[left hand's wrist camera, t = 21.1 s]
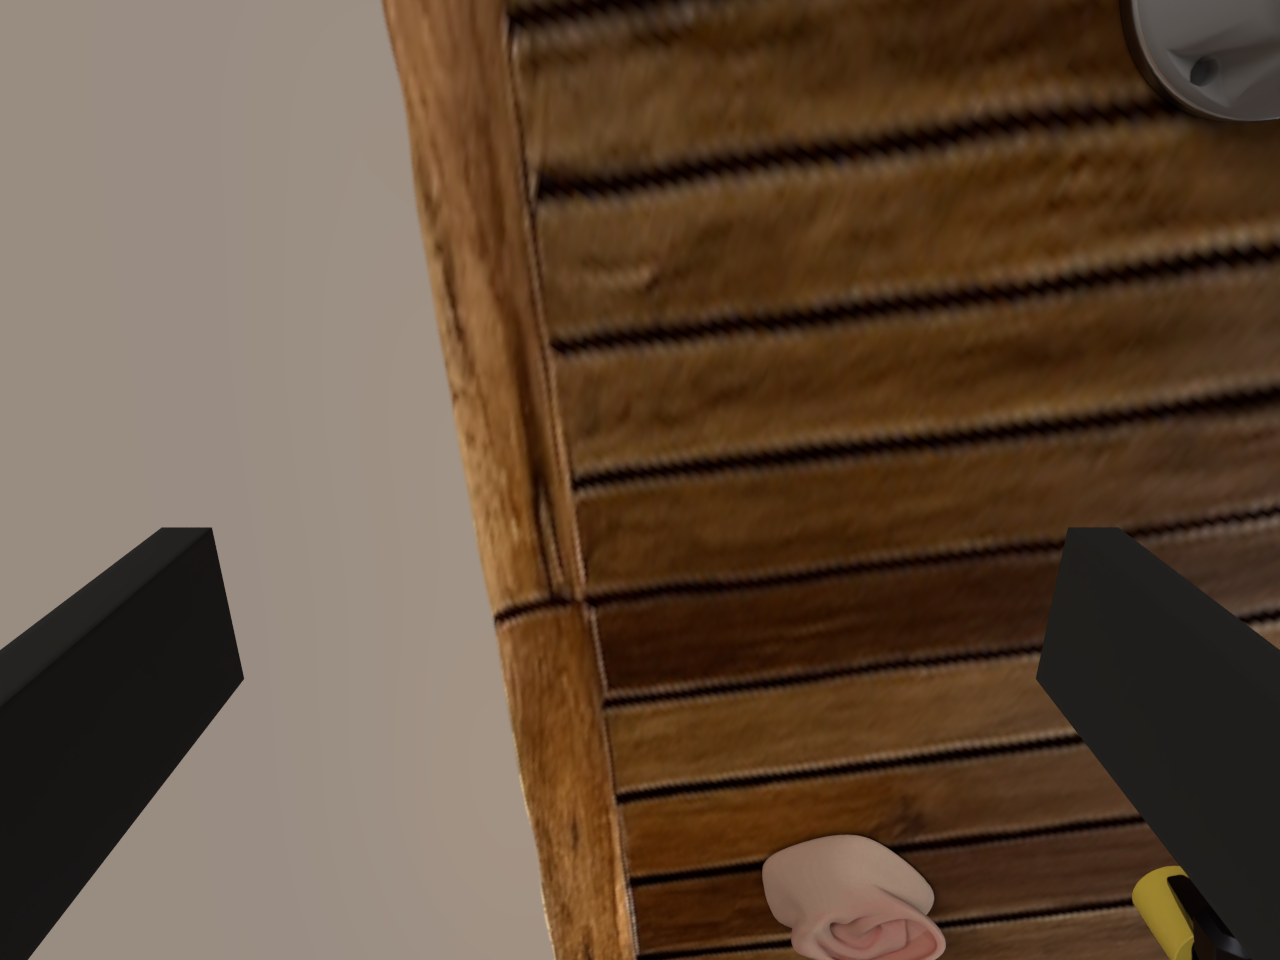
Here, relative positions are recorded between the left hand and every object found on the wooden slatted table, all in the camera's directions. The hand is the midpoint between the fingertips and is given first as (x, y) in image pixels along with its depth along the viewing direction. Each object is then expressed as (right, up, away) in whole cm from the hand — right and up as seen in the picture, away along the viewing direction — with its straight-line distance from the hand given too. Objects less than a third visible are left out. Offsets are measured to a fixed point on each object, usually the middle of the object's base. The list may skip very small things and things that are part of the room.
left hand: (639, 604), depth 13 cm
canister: (+36, -26, +42) cm, 61 cm away
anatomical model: (+16, -30, +51) cm, 61 cm away
